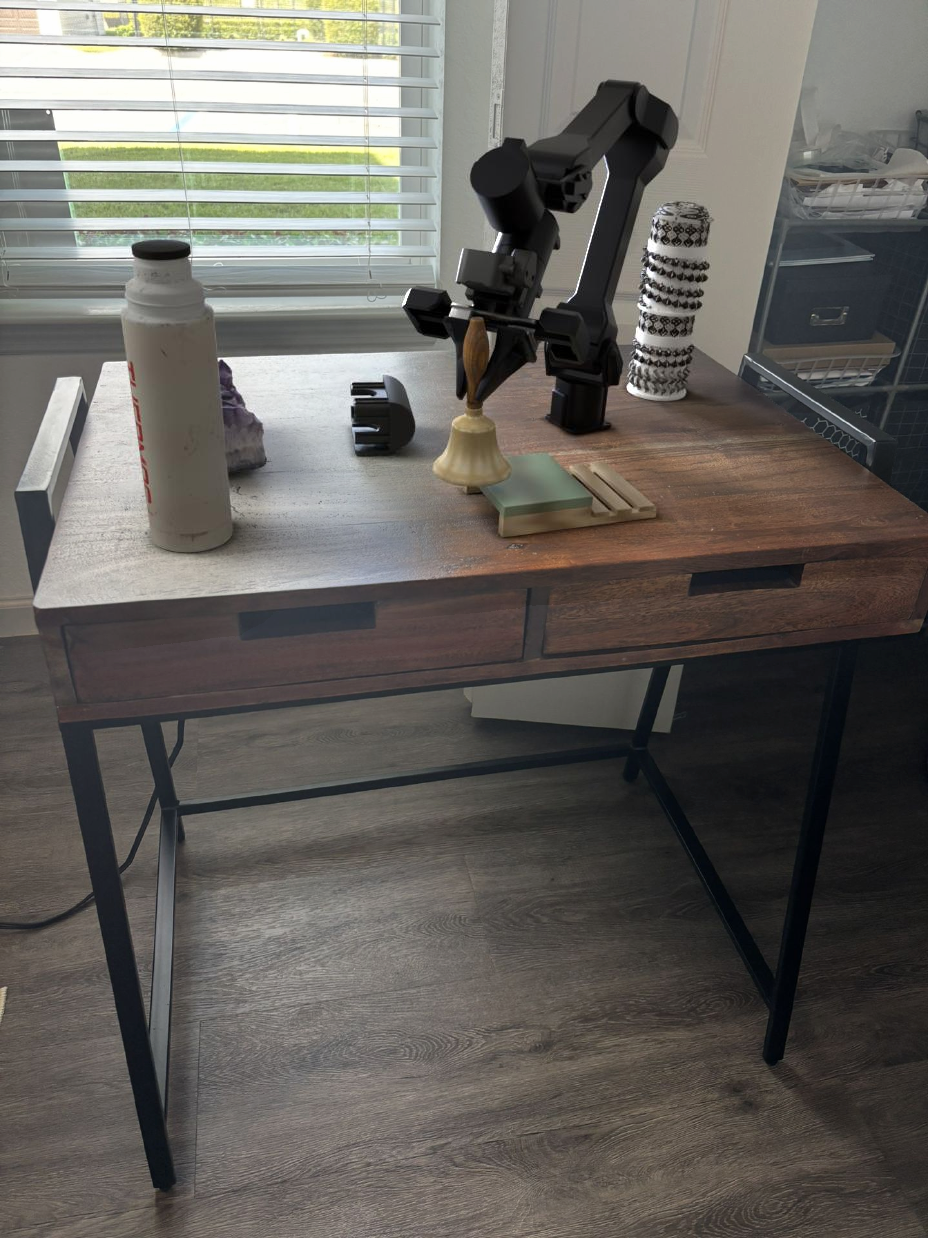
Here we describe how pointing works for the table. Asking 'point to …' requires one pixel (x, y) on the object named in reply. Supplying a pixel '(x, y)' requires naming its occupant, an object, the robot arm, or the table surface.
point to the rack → (561, 496)
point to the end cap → (381, 417)
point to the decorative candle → (669, 301)
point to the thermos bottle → (176, 399)
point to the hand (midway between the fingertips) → (468, 400)
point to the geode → (239, 427)
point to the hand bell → (473, 426)
